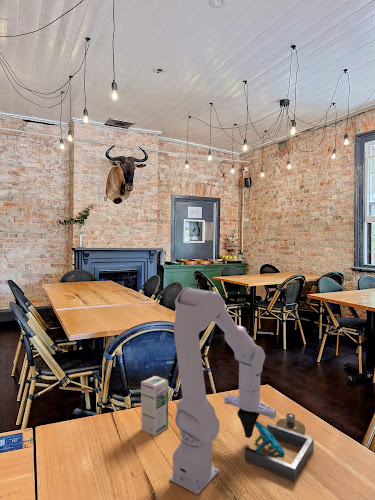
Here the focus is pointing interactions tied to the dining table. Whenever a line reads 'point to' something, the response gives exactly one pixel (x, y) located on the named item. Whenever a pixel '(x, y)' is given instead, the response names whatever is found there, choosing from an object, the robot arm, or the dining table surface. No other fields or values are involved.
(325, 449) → the dining table surface
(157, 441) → the dining table surface
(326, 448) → the dining table surface
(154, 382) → the syrup box
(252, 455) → the frame
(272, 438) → the gear
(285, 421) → the call bell
